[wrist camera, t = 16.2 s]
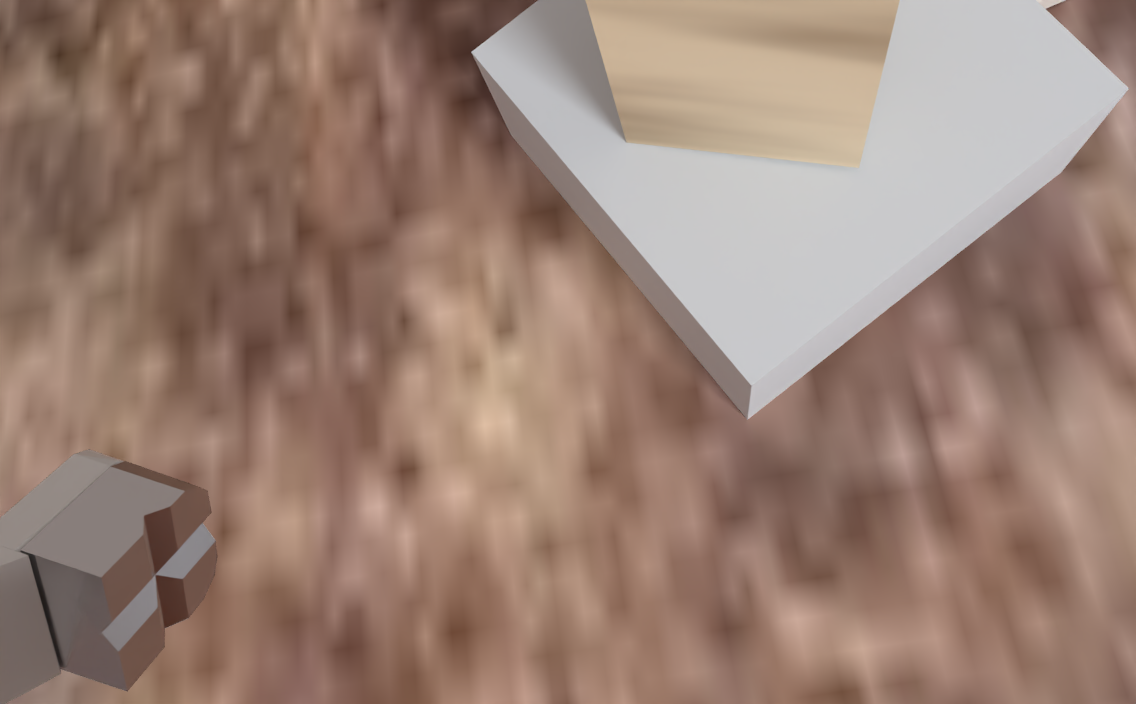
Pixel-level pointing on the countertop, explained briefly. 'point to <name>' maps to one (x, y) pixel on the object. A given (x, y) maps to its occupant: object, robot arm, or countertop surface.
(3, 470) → the countertop surface
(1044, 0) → the picture tile
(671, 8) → the maple block
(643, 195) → the grey-blue block
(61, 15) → the countertop surface
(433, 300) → the countertop surface
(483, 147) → the countertop surface
